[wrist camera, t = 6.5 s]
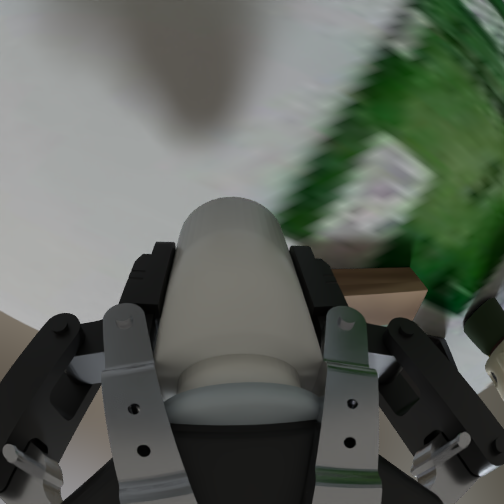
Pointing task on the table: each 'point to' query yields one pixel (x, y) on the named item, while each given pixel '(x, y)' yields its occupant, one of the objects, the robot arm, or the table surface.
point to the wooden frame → (382, 292)
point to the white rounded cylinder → (235, 323)
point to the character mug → (489, 339)
